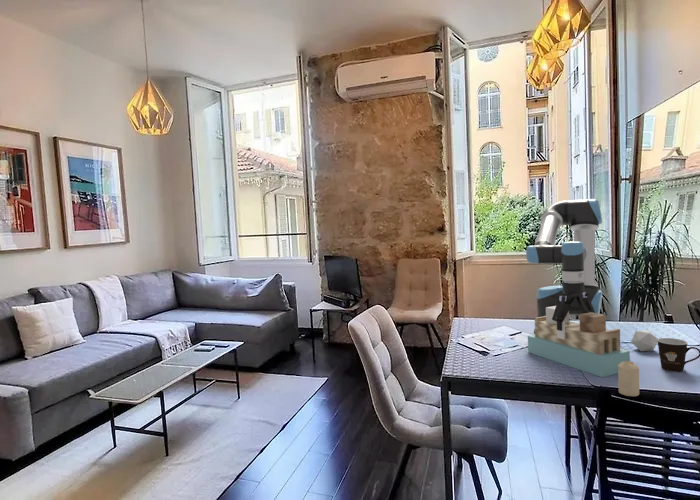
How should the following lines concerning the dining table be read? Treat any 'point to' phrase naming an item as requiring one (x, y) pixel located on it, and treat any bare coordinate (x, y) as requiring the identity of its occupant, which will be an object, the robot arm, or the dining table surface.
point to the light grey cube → (550, 314)
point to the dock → (578, 356)
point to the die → (644, 340)
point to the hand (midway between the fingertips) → (574, 336)
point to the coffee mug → (673, 354)
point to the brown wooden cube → (592, 322)
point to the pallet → (579, 337)
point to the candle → (628, 378)
